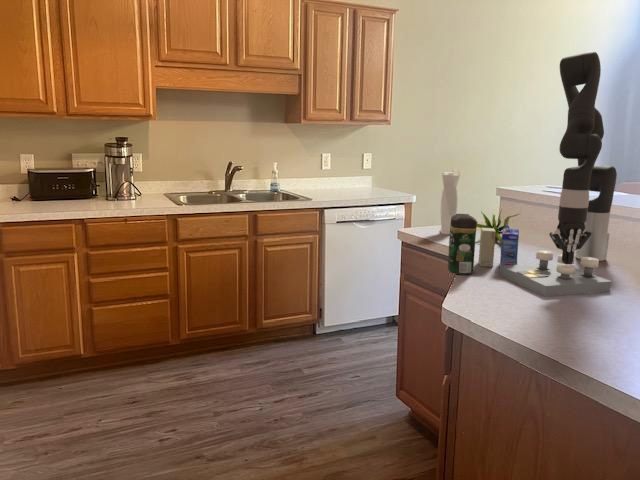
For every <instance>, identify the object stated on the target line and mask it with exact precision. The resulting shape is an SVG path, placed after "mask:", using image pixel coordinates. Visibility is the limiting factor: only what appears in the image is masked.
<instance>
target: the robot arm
mask: <svg viewBox="0 0 640 480" xmlns="http://www.w3.org/2000/svg"><path fill="white" fill-rule="evenodd" d="M601 71H602V69H601V60H600V56H599V53H597V52H596V51H594V50H593V51H585V52H582V53H577V54H573V55H568V56H565V57H562V59H561V60H560V61H559V74H560V78H561V83H562V86H563V87H562V88H563V91H564V95H565V98H566V102H567V106H568V107H567V108H568V109H567V126H566V130H565V132H564V134H563V136H562V138H561V141H560V143H559V148H558V149H559V153H560V154H561V156H562V157H563V158H564V159H569V160H577V166H573V167H572V166H571V167H568V168H566V169H565V170H564V172H563V175H562V176H563V178H562V188H561V193H560V195H559V196H560V197H559V205H558V215H557V220H558V224H557V226H556V230H554V231H550V232H549V237H550V239H551V240H552V242H553V244H554V245H555V247H556V249H559V250H560V251H562V253H561V254H562V261H563V263H564V264H571V265H573V264H572V262H573V258H574V257H575V258H577V259H579V260H581V258H582V257H592V258H597V259H599V262H603V261H605V260H607V257H608V250H609V240H610V236H611V235H610V233H609V224H610V217H611V216H610V215H611V209H612V205H613V199H614V194H615V189H616V188H615V187H616V183H617V176H618V173H617V168H616V167H615V166H612V165H604V164H596V162H597V159H598V157H599V155H600V153H601V150H602V148H603V138H604V134H605V129H604V122H603V117H602V114H601V112H600V111H599V110H598V109H597V108H596V100H597V96H598V91H599V86H600V81H601V80H600V79H601ZM581 85H584V86H583V87H582V88H581V89H580V91H579V90H578V86H581ZM590 192H597V193H599V194H598V196H597V197H596V198H593V199H590Z"/></svg>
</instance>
